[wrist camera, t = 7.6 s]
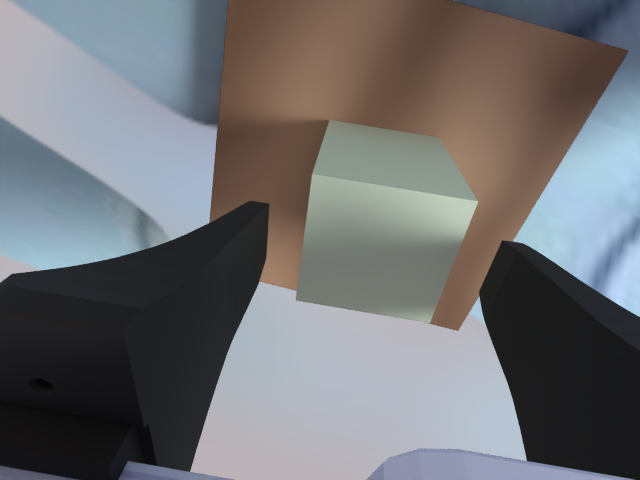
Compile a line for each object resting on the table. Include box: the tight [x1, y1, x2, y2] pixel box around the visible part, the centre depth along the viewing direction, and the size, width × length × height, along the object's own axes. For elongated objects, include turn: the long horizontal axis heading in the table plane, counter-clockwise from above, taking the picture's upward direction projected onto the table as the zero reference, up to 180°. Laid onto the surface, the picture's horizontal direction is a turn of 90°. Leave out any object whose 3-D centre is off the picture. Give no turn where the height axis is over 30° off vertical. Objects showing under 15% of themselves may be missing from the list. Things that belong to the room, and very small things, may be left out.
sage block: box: [296, 120, 478, 323], centre depth 14 cm, size 4×4×6 cm
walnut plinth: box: [210, 0, 628, 331], centre depth 17 cm, size 14×14×2 cm
